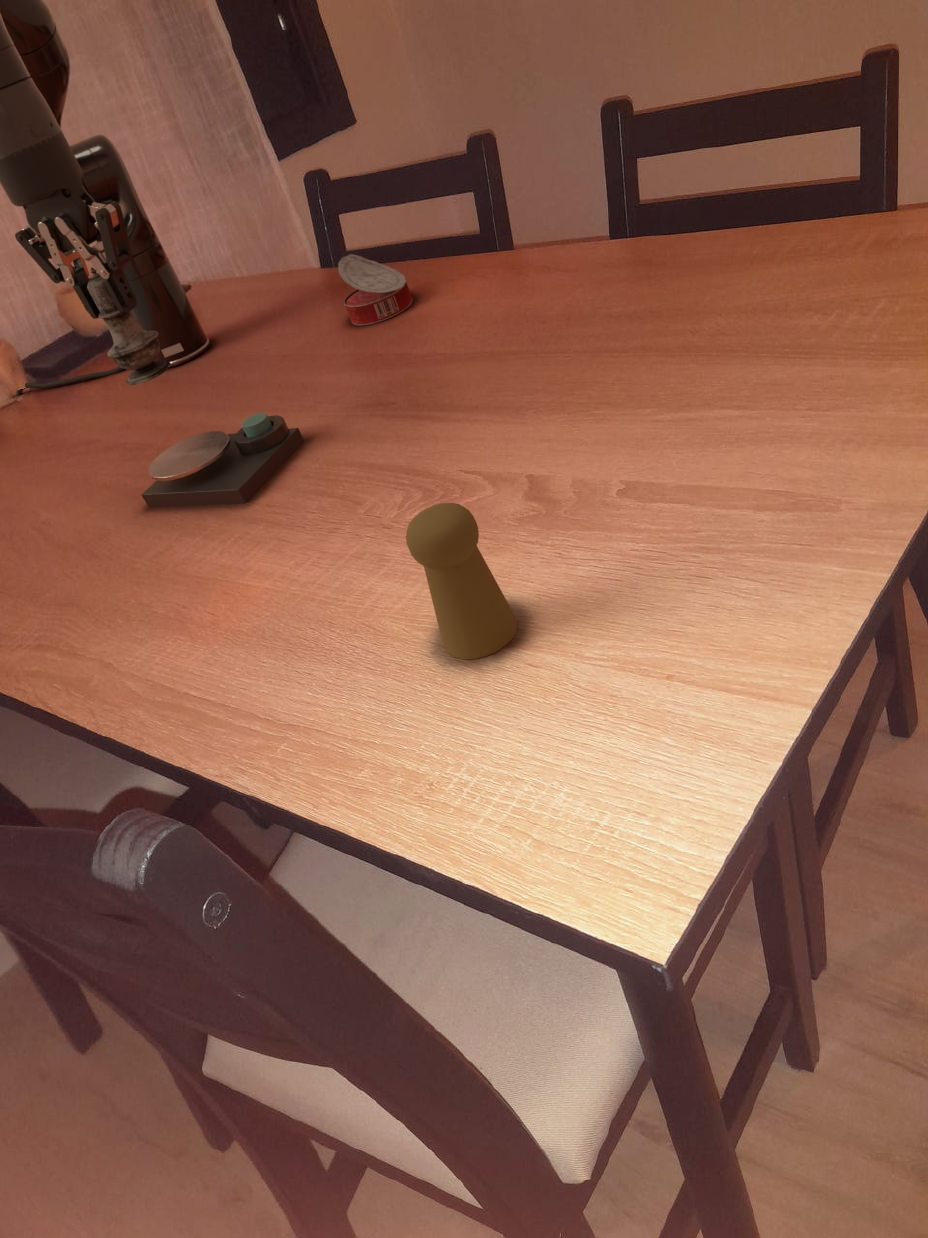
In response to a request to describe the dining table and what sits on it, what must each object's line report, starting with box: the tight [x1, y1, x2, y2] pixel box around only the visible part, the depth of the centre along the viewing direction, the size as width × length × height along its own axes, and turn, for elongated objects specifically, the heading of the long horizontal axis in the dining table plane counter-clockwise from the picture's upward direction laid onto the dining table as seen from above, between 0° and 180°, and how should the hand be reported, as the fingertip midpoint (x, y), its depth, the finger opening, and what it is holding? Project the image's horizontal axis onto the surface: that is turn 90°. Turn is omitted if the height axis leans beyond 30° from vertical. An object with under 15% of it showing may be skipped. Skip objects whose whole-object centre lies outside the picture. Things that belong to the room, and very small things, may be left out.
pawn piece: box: [405, 502, 519, 660], centre depth 70 cm, size 6×6×11 cm
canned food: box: [337, 253, 414, 326], centre depth 141 cm, size 11×10×10 cm
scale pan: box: [148, 430, 230, 481], centre depth 110 cm, size 10×10×1 cm
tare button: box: [241, 412, 272, 437], centre depth 110 cm, size 3×3×2 cm
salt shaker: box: [87, 266, 171, 386], centre depth 101 cm, size 6×6×12 cm
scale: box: [140, 414, 305, 509], centre depth 111 cm, size 15×14×4 cm
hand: (115, 311), depth 100 cm, fingers closed on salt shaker, 3 cm apart
